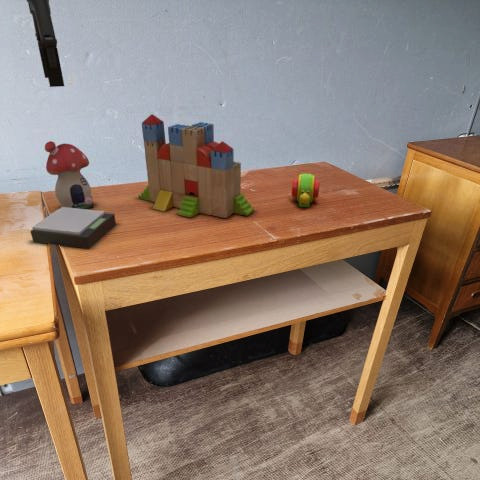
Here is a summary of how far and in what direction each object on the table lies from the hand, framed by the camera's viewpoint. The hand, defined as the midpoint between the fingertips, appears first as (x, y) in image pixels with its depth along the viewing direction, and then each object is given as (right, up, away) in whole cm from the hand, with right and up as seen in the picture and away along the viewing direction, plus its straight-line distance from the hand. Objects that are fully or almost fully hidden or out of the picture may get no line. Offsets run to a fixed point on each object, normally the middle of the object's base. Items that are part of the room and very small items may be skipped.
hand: (54, 81), depth 93 cm
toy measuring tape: (+56, -19, +18) cm, 62 cm away
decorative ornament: (+1, -24, +10) cm, 26 cm away
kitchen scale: (+5, -32, -2) cm, 33 cm away
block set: (+28, -23, +12) cm, 38 cm away
